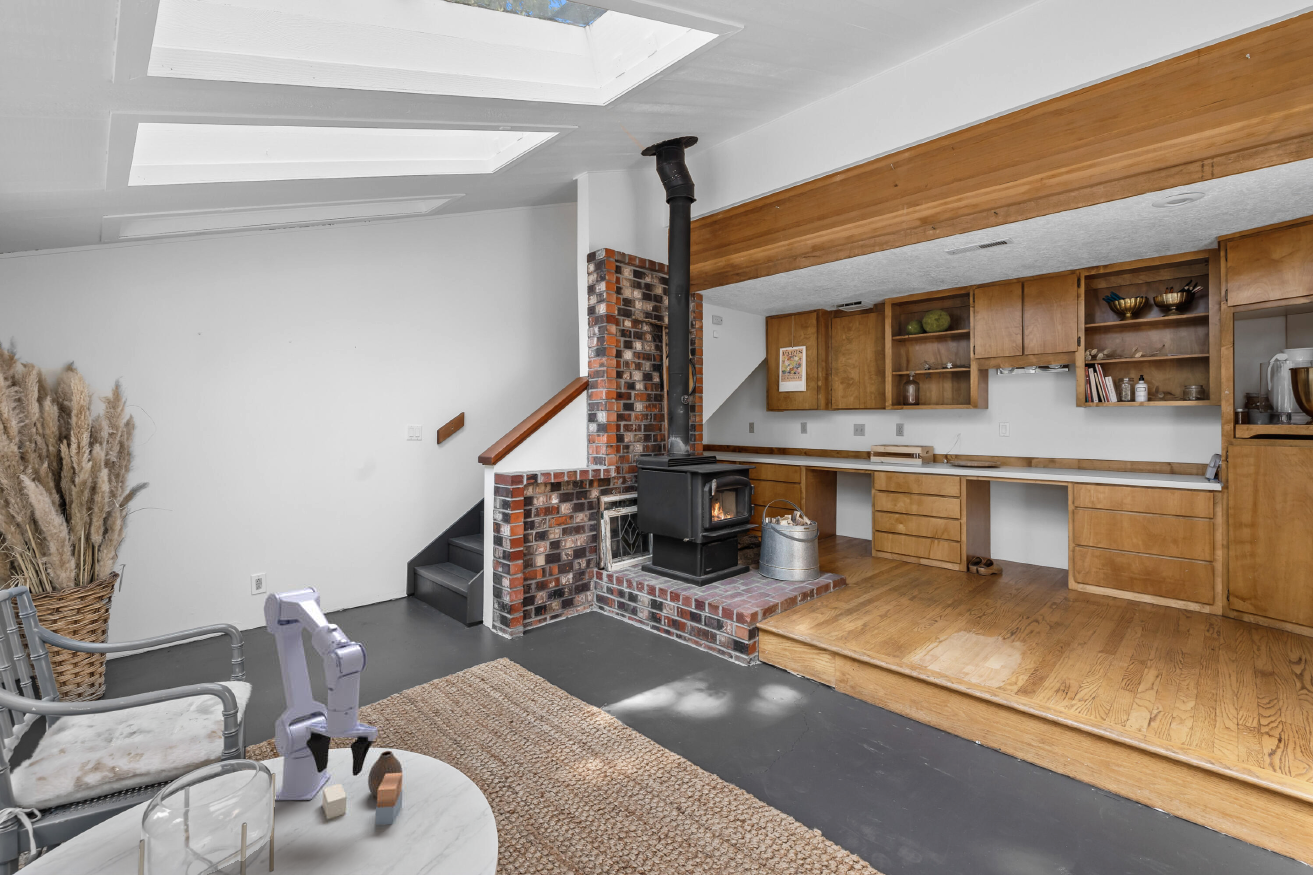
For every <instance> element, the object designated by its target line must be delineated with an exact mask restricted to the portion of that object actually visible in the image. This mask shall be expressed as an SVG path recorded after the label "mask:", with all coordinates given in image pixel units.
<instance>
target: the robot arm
mask: <svg viewBox="0 0 1313 875" xmlns="http://www.w3.org/2000/svg"><path fill="white" fill-rule="evenodd" d="M320 596H321V595H320V593H319V590H317V589H316V587H314V586H310V587H309V586H308V587H307V588H306V587H305V588H301V589H300V588H299V589H294V590H287V591H282V592H281V591H280V592H276V593H275V592H271V593H269V594H268V595H267V597H266V599H265V601H264V606H263V614H264V619H265V627H266V628H267V633H269V634H273V635H274V636H275V641H276V642H275V643H276V648H277V654H278V659H279V666H280V671H281V677H282V684H283V690H284V695H285V701H286V707H287V708H286V709H285V710H284V712H282V714H281V715H280V716H279V717H278V718H277V720H276V721H275V724H274V726H275V727H274V729H275V735H274V745H275V749H276V751H277V753H278V754H279V755H280V756H282V757H283V768H282V769H283V770H282V788H281V789H279V791H278V792H277V793H276V794H275V795H276V800H275V801H304V800H305V801H307V800H309V801H310V800H312V799H313V798H314V797H315V796H316V794H317V793H318V792H319V791H320V790H321V788H322V787H323V786H324V785H325V783H326V782H327V781H328V780H329V779H330V777H331V776H332V775H331V773H327V772H328V763H329V762H328V761H329V749H330V743H331V739H332V738H336V739H337V738H350V739H351V738H352V739H354V738H355V739H356V740H355V741H353V742H352V743H351V744H350V746H349V748H350V749H351V755H352V776H355V777H357V776H358V775H359V774H360V773H361V772H362V770H363V766H364V763H365V761H366V757H367V754H368V752H369V750H370V748H371V746H372V743H374V740H375V739H376V738H378V736H379V735H378V734H379V732H378V731H379V729H378V728H379V727H377V726H372V725H368V724H365V723H362V722H360V721H358V719H359V701H360V700H359V698H360V683H361V680H360V678H361V672H362V671H364V670H365V669H366V666H367V660H368V659H367V653H366V649H365V647H364V646H363V644H362V643H360V642H355V641H351V640H349V638H348V637H347V635H346V634H345V633H344V632H343V630H342V629H341V628H340V627H339V626H338V625H337V624H335V623H329V621H328V620H327V617H326V616H325V614H324V613H323V611H322V610H321V608H320V607H321V597H320ZM303 628H305V629H306V630H307V631H308V632H309V633H310V634H312V637H311V644H312V646H313V647H314V648H315V650H316V651H317V653H318V654H319V655H320V657H321V658H322V660H323V669H324V674H325V683H326V684H325V685H326V687H328V691H327V692H328V693H327V706H326V705H325V704H323V703H321V702H318V701H316V700H314V698H313V695H312V694H313V693H312V688H311V683H310V677H309V671H308V666H307V660H306V655H305V649H304V645H303V637H302V630H303ZM302 718H303V719H302ZM299 719H300V720H299ZM296 720H297V721H296Z"/></svg>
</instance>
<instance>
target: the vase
mask: <svg viewBox="0 0 1313 875" xmlns="http://www.w3.org/2000/svg"><path fill="white" fill-rule="evenodd" d="M390 773H403V768H402V764H401V762H400V761H399V760H398V759H397V757H396V756H395V755H394V753H393V752H392V750H391V751H390V750H385V751H383V752H381V753H380V755H379V757H378V758H377V760H376V761H375V762H374V763H373V764H372V766H371V768H370V771H369V774H368V777H367V783H368V784H367V787H368V789H369V792H370V793H371V794H372V796H373V797H375V798H376V799H377V794H378V788H379V786H380V784H381V782H382V780H383V778H384V776H385V774H390Z"/></svg>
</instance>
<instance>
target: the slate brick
mask: <svg viewBox="0 0 1313 875" xmlns="http://www.w3.org/2000/svg"><path fill="white" fill-rule="evenodd" d="M402 807H403V789H402V790H401V793H400V795H399V797H398V800H397V802H396V804H395V807H380V808H377V806H376V807H375V824H374V825H376V826H377V825H378V826H379V825H394V822H395V820H396V819H397V816H398V814H399V813H400V810H401V808H402Z"/></svg>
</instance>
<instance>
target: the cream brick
mask: <svg viewBox="0 0 1313 875" xmlns="http://www.w3.org/2000/svg"><path fill="white" fill-rule="evenodd" d="M322 807H323V811H324V814H325V817H326V819H327V820H329V819H333V818H336V817H338V816H341V815H345V814H346V813H347V794H346V793H345V789H344V788H343V785H342V783H341V782H340V783H337V784H334V785H331V786H330V785H329V786H328V787H327V786H326V787H324V788H323V789H322Z"/></svg>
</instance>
